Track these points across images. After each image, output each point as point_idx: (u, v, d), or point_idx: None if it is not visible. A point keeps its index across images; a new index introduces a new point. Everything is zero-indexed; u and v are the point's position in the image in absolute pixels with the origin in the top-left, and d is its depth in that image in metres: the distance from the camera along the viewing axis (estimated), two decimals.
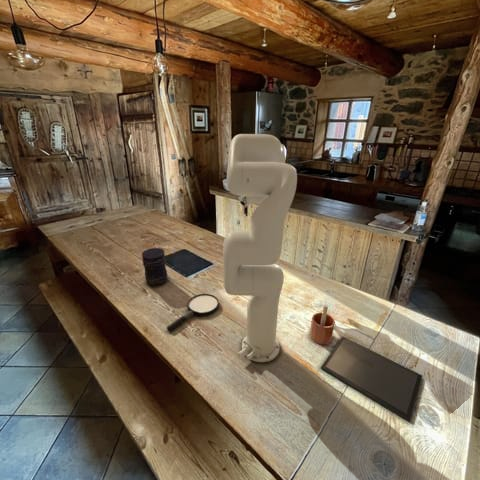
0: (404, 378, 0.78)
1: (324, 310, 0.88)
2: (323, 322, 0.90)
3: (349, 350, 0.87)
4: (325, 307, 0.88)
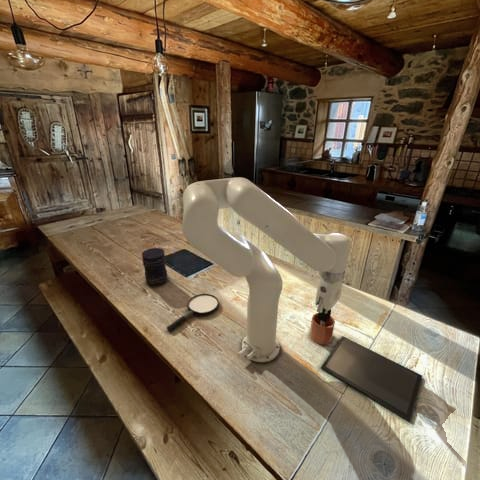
0: (404, 378, 0.78)
1: None
2: (323, 322, 0.90)
3: (349, 350, 0.87)
4: None
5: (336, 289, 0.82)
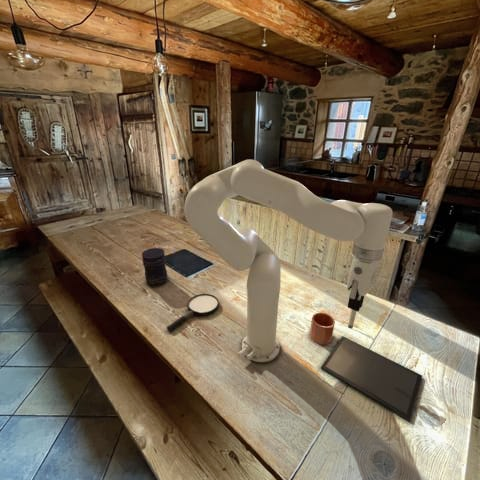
0: (404, 378, 0.78)
1: None
2: (354, 311, 0.77)
3: (349, 350, 0.87)
4: (357, 293, 0.75)
5: (373, 270, 0.69)
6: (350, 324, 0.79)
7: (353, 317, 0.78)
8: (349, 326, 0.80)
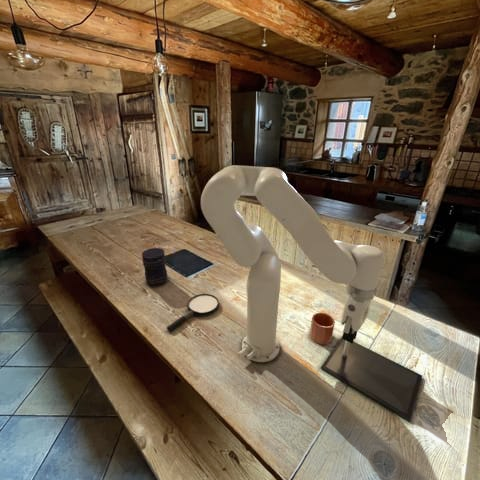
0: (404, 378, 0.78)
1: None
2: (348, 342, 0.81)
3: (349, 350, 0.87)
4: None
5: (366, 307, 0.73)
6: (344, 354, 0.84)
7: (347, 348, 0.82)
8: (344, 355, 0.84)
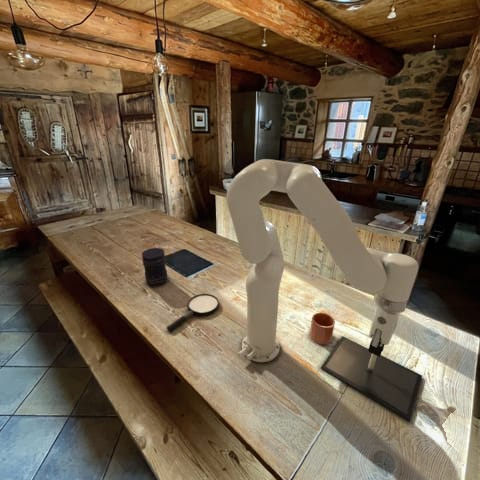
0: (404, 378, 0.78)
1: None
2: (375, 355, 0.77)
3: (349, 350, 0.87)
4: None
5: (396, 320, 0.69)
6: (370, 367, 0.79)
7: (373, 361, 0.78)
8: (369, 369, 0.79)
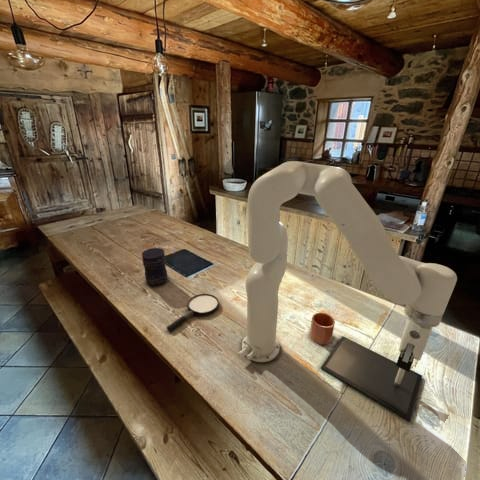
0: (404, 378, 0.78)
1: None
2: (403, 370, 0.72)
3: (349, 350, 0.87)
4: None
5: None
6: (397, 382, 0.75)
7: (401, 376, 0.73)
8: (396, 384, 0.75)
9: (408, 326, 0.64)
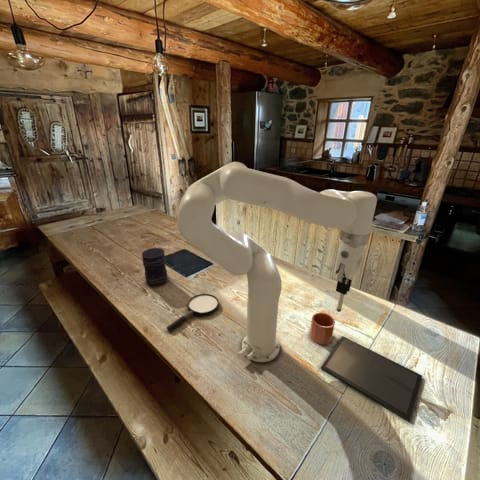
0: (404, 378, 0.78)
1: None
2: (342, 295, 0.82)
3: (349, 350, 0.87)
4: (345, 277, 0.79)
5: (359, 255, 0.73)
6: (338, 307, 0.84)
7: (341, 300, 0.82)
8: (337, 309, 0.84)
9: (340, 248, 0.73)
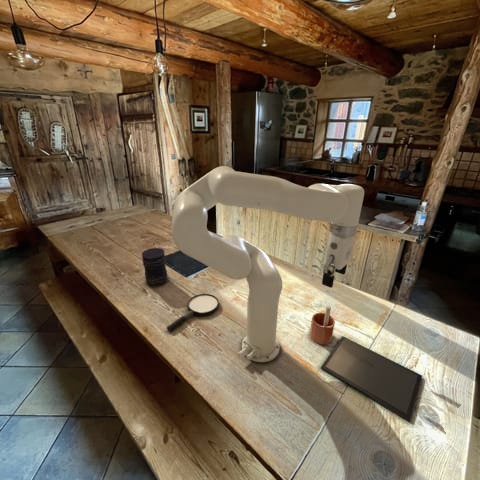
0: (404, 378, 0.78)
1: (327, 311, 0.88)
2: (326, 323, 0.90)
3: (349, 350, 0.87)
4: (328, 308, 0.87)
5: (348, 246, 0.75)
6: None
7: None
8: None
9: (329, 239, 0.75)
